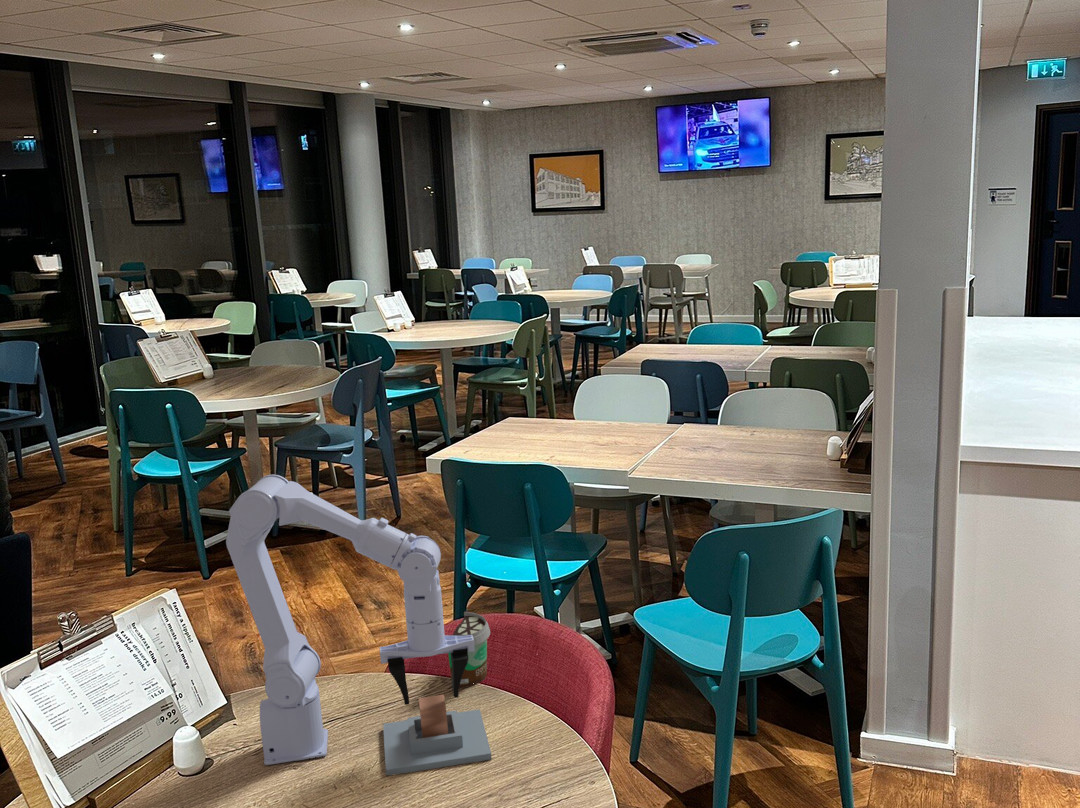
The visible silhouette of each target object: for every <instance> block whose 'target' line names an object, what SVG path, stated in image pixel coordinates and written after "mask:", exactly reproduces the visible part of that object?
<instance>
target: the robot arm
mask: <svg viewBox="0 0 1080 808" xmlns="http://www.w3.org/2000/svg"><path fill="white" fill-rule="evenodd" d="M228 512H229V513H228V514H229V515H230V519H229V524H228V529H227V533H226V534H227V535H226V539H225V545H226V549H227V551H228V554H229V555H230V559H231V561H232V564H233V567H234V570H235V572H236V575H237V577H238V579H239V582H240V583H239V584H240V586H241V588H242V591H243V593H244V597H245V598H246V601H247V605H248V607H249V609H250V613H251V614H252V617H253V620H254V623H255V626H256V629H257V631H258V635H259V636H260V638H261V641H262V644H263V647H264V653H263V664H262V668H263V671H264V675H265V684H264V691H265V694H266V696H267V698H265V699H262V700H260V703H259V726H260V734H261V744H262V749H263V750H262V751H263V758H264V761H263V763H264V765H265V766H269V765H270V766H271V765H276V764H281V763H282V764H283V763H289V762H297V761H302V760H309V758H310V759H315V757H316V758H322V756H323V757H326V756H327V755H328V739H329V730H328V729H327V728H324V724H323V715H322V714H323V713H322V706H321V696H320V688H319V686H318V684H317V682H316V681H317V680H316V677H317V676H318V674H319V673H320V670H321V667H322V666H321V665H322V663H321V661H322V660H321V659H320V656H319V654H318V652H316V650H315V649H313V647H312V646H311V645H310V644H309V642H308V639H307V637H306V635H304V634H302V633H300V632H298V629H297V626H296V625H295V622H294V620H293V616H292V614H291V611H290V609H289V605H288V603H287V600H286V597H285V595H284V592H283V590H282V587H281V584H280V581H279V579H278V576H277V573H276V570H275V567H274V565H273V562H272V559H271V557H270V554H269V551H268V548H267V546H266V543H265V540H266V538H267V536H268V534H269V533H270V531H271V529H272V528H273V526H274V525H275V522H276V521H277V520H278V521H279V522H278V526H285V525H290V524H295V523H299V522H306V523H308V524H311V525H312V526H314V527H317V528H319V529H322V530H325V531H327V532H330V533H332V534H335V535H337V536H339V537H341V538H344V539H347V540H349V541H351V543H352V545H353V547H354V549H355V552H357V553H358V554H361V555H362V556H365V557H367V558H368V559H371V560H373V561H375V562H377V563H379V564H382V565H383V566H385V567H387V568H390V569H392V570H395V571H397V575H398V577H399V578H400V580H401V581H402V582H403V588H404V589H403V598H404V599H403V600H404V612H405V623H406V634H407V635H406V636H407V639H406V640H404V641H400V642H396V643H393V644H389V645H384V646H379V656H380V657H379V659H380V664H381V665H382V664H384V665H385V664H388V671H389V672H390V675H391V676H392V678H393V680H394V681H395V682H396V684H397V686H398V688H399V691H400V692H401V695H402V698H403V703H404V705H405V706H406V705H407V706H408V705H410V698H409V690H408V684H407V677H406V676H407V675H406V667H405V660H406V659H412V658H424V657H426V658H427V657H433V656H436V655H443V654H448V653H451V662H452V681H451V686H452V687H451V688H452V694H453V698H454V699H456V698H459V694H460V688H459V687H460V682H461V678H462V675H463V672H464V670H465V667H466V665H467V663H468V659H469V657H468V652H473V651H475V649H474V639H473V635H467V636H452V635H446V634H445V623H444V621H445V620H444V612H443V611H444V609H443V599H442V597H443V595H442V587H441V584H440V583H441V582H440V581H441V579H440V572H439V569H438V567H439V565H440V562H441V558H442V553H441V549H440V548H441V547H439V545H438V543H436V541H435V540H433V539H431V538H430V536H428V535H427V536H426V535H417V534H414V533H413V532H411V533H409V534H408V533H407V532H405V531H402V530H401V529H398V528H396V527H394V526H392V525H390V524H389V520H388V519H386V518H384V517H380V518H379V519H377V518H375V517H371V518H368V519H362V520H361V519H359V518H358V517H356V516H354V515H352V514H350V513H349V512H346V511H345V510H343V509H341V507H337V506H336V505H334V504H333V503H330V502H329V501H327V500H325V499H323V498H322V497H320V496H318V495H316V494H314V493H312V492H310V491H309V490H307V489H306V488H305V487H304V486H302V485H301V484H300V483H298V482H297V481H292V480H290V481H289V480H288V479H287V478H285V477H284V476H281V475H279V474H267V475H265V476H262V477H261V478H260V479H259V480H257V482H256V483H255V484H254V485H253V486H251V487H250V488H248V489H247V490H246V491H244V492H242V493H241V494H240V495H239V496H238V497H237V499H236V500H235V501H234V503H233V505H232V506H230V508H229V511H228Z"/></svg>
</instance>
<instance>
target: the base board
mask: <svg viewBox="0 0 1080 808" xmlns="http://www.w3.org/2000/svg"><path fill="white" fill-rule="evenodd" d="M446 714H447V725H448V734H446V735H439V736H433V737H426V738H422V728H421V717H420V715H418V716H411V717H407V719H405V720H399V721H392V722H385V723H383V724H382V725H383V726H382V727H383V744H384V745H383V747H384V748H383V749H384V763H385V764H384V765H385V776H386V775H390V776H394V775H393V774H396V775H401V774H400V773H402V774H406V773H408V772H409V773H414V772H420V771H421V772H422V771H426V770H427V771H428V770H432V769H438V768H439V769H440V768H445V767H452V766H456V765H463V764H471V763H477V762H482V761H489V760H490V761H491V760H493V759H492V751H491V747H490V744H489V740H488V736H487V735H488V734H487V732H486V728H485V723H484V721H483V716H482V713H481V709H473V710H472V709H471V710H466V711H459V712H458V710H451V711H450V710H449V711H446ZM409 773H408V774H409Z"/></svg>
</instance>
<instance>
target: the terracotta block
mask: <svg viewBox="0 0 1080 808" xmlns="http://www.w3.org/2000/svg"><path fill="white" fill-rule="evenodd" d="M418 704H419V716H420V717H421V728H422V738H426V737H433V736H439V735H446V734H448V725H447V714H446V712H447V705H446V698H445V694H439V695H433V696H432V695H431V696H430V695H429V696H425V697H424V696H423V697H418Z"/></svg>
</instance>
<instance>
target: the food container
mask: <svg viewBox="0 0 1080 808" xmlns="http://www.w3.org/2000/svg"><path fill="white" fill-rule="evenodd" d="M463 616H464V617H463V619H462V621H461V622H460V623H459V624H458V625H457V626H456V628H455V629H454V631H453V634H452V635H451V636H467V635H473V639H474V649H475V651H473V652H468V657H469V659H468V663H467V665H466V667H465V670H464V672H463V675H462V678H461V682H460V687H459V689H463V688H468V687H473V686H476V685H478V684H480V683H482V682H483V681H484V680H485V679H486V678H487V676H488V673H487V672H488V659H487V658H488V639H489V637H490V635H491V629H490V626H489V623H488V621H487V619H486V618H485V617H484V616H483V615H481V614H478V613H475V612H470V611H464V612H463ZM447 656H448V665H449V673H450V679H451V682H452V662H451V653H447ZM473 683H474V684H473Z"/></svg>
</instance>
